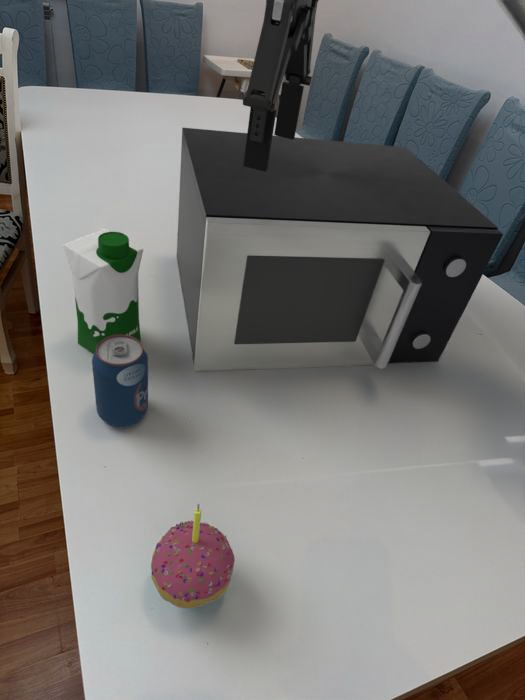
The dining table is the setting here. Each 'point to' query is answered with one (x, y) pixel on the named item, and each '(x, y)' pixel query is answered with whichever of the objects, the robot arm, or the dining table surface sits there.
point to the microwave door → (304, 293)
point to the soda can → (120, 380)
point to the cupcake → (192, 564)
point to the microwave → (339, 216)
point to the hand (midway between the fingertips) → (270, 151)
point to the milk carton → (105, 286)
